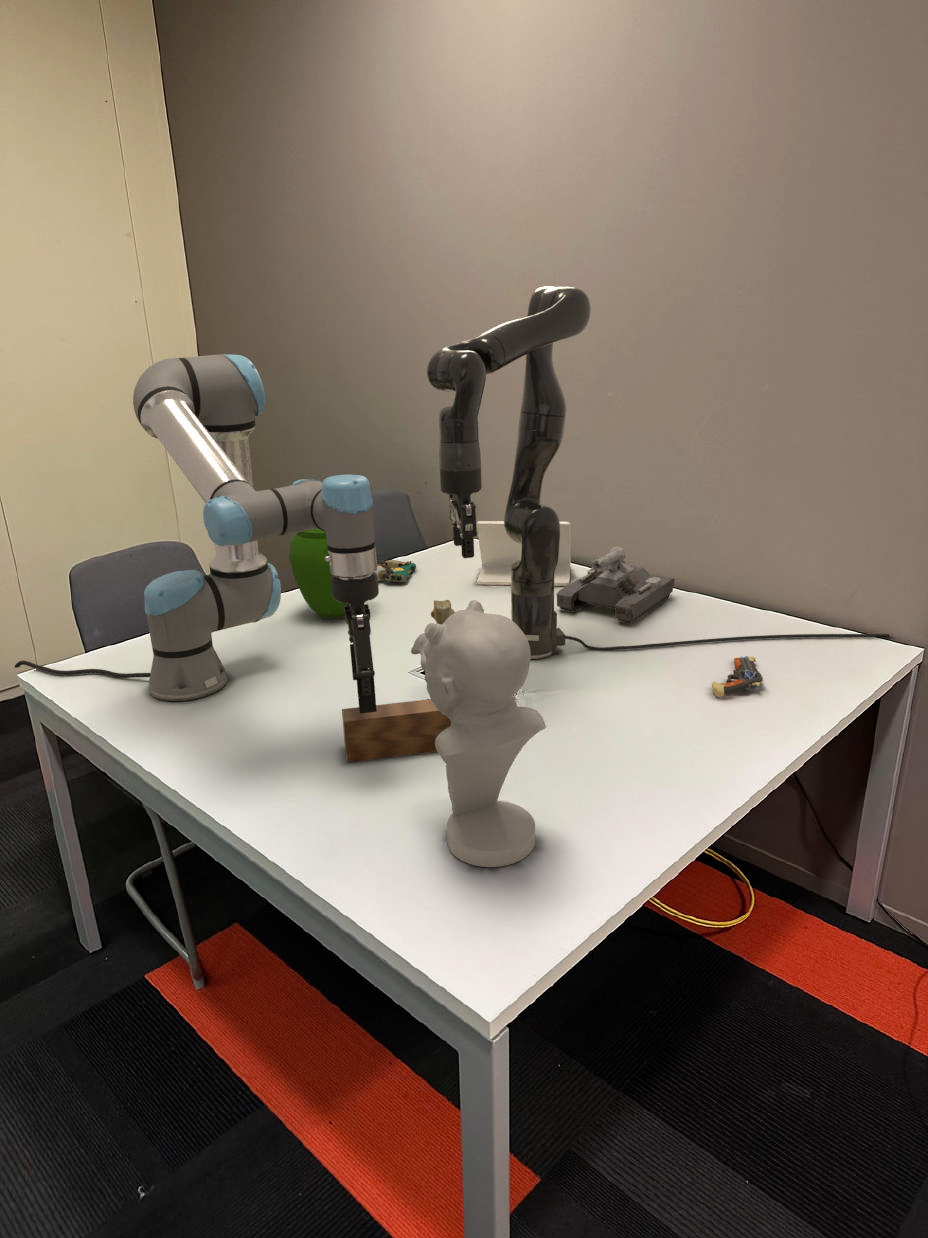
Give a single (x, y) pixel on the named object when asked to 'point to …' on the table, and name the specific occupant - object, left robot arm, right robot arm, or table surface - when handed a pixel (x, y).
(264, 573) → the left robot arm
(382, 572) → the spray gun
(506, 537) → the tablet stand
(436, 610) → the sculpture
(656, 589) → the toy
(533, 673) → the table surface
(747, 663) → the toy gun
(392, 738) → the bar
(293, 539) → the vase
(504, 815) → the bust sculpture
